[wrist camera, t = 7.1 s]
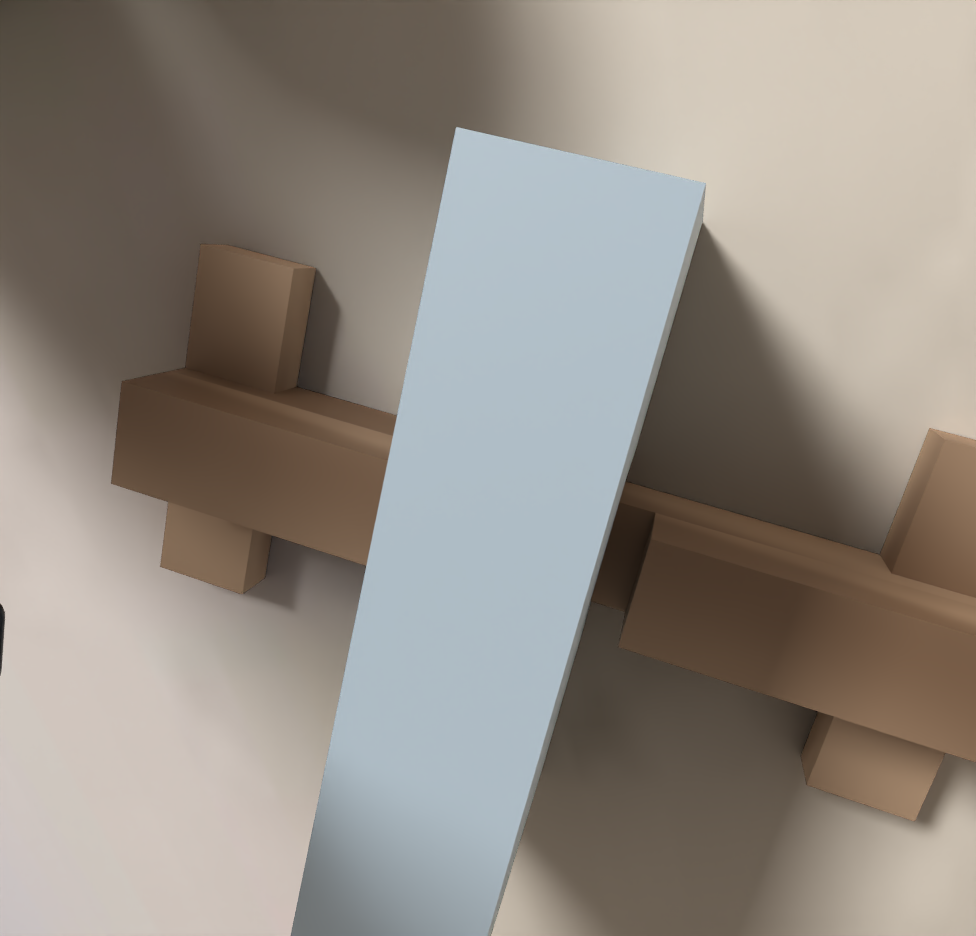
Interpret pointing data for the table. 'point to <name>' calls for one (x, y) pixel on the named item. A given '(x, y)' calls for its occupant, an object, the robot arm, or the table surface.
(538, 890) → the table surface
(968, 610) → the walnut crossed blocks
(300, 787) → the table surface
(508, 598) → the pale blue flat block
